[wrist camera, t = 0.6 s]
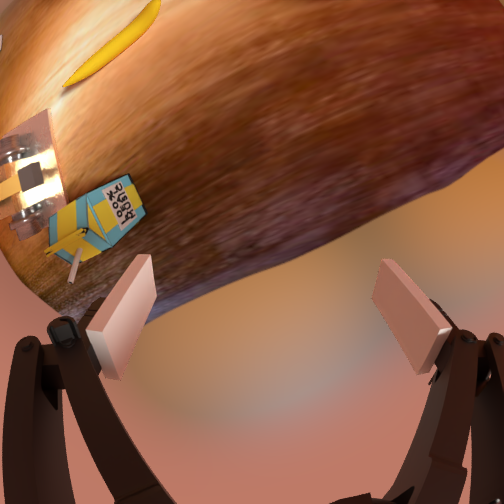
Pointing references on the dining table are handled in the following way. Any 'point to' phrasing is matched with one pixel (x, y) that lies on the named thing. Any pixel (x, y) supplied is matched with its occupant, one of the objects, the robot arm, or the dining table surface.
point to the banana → (118, 43)
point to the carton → (94, 222)
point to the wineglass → (1, 41)
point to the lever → (22, 180)
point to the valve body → (53, 190)
